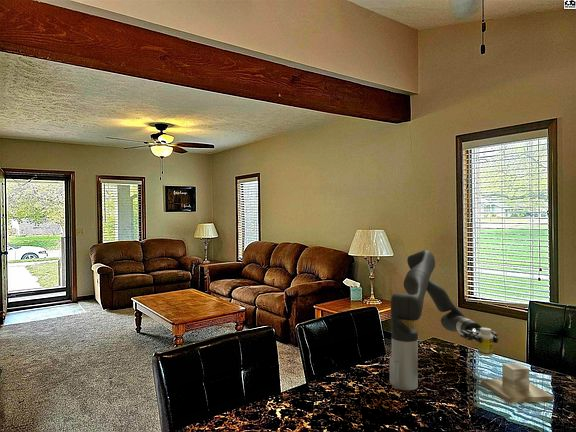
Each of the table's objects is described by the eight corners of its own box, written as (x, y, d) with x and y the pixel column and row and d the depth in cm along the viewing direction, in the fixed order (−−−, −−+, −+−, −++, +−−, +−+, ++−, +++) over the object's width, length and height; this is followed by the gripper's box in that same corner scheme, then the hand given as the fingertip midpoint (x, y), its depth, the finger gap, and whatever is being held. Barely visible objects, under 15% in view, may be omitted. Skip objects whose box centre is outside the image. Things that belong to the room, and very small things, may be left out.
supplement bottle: (491, 357, 157) (491, 331, 158) (476, 354, 161) (476, 329, 161) (494, 353, 162) (494, 328, 162) (479, 351, 165) (479, 326, 165)
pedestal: (508, 402, 138) (508, 375, 138) (481, 383, 154) (481, 359, 154) (553, 400, 140) (553, 373, 140) (521, 381, 156) (521, 357, 156)
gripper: (452, 319, 176) (470, 330, 159) (485, 320, 176) (507, 330, 159) (451, 337, 175) (470, 350, 158) (485, 337, 176) (507, 350, 159)
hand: (488, 340), depth 159 cm, fingers closed on supplement bottle, 5 cm apart
